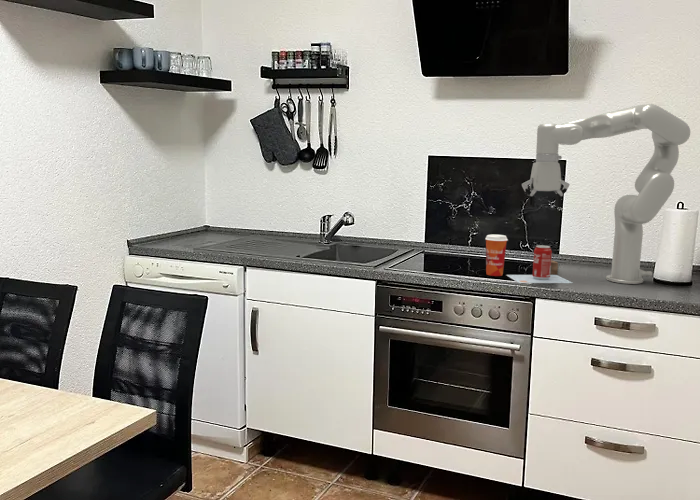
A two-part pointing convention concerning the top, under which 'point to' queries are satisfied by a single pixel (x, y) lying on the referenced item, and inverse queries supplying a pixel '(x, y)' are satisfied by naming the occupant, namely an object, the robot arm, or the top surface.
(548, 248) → the beverage can
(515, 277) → the envelope
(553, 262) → the walnut block
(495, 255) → the coffee cup
